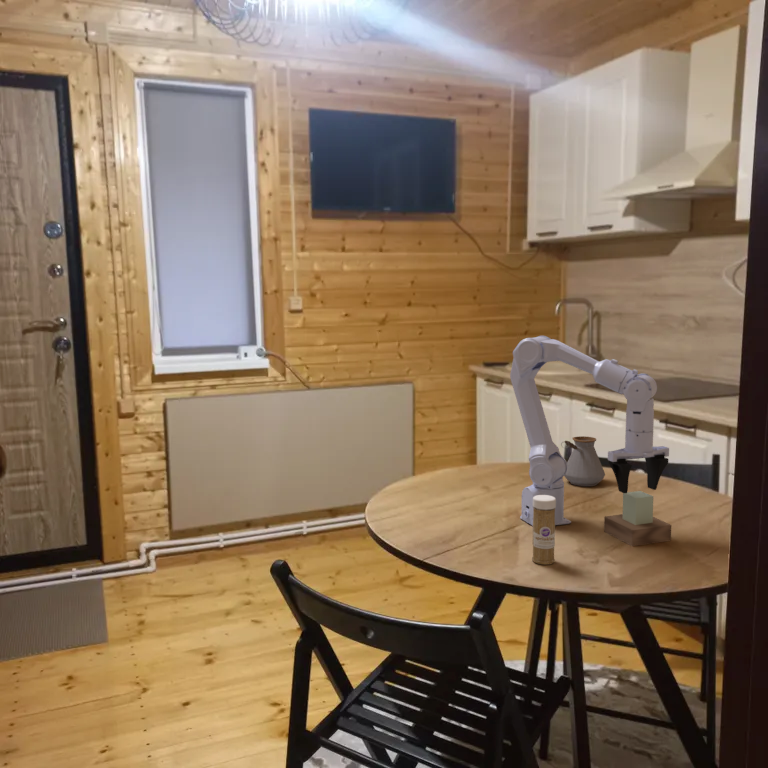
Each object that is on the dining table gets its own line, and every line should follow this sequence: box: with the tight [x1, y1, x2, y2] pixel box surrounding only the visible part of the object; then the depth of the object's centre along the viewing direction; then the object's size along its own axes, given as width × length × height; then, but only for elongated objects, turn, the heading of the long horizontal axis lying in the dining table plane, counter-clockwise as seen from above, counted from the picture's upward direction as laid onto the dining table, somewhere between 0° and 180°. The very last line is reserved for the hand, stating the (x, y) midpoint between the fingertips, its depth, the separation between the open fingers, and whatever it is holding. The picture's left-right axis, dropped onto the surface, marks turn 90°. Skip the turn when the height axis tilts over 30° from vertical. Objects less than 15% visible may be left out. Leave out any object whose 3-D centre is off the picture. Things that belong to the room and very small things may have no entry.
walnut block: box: [603, 513, 672, 547], centre depth 158 cm, size 10×10×4 cm
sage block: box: [622, 490, 654, 525], centre depth 157 cm, size 4×4×6 cm
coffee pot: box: [560, 436, 606, 487], centre depth 197 cm, size 21×12×15 cm, turn 145°
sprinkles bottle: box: [531, 495, 556, 566], centre depth 143 cm, size 5×5×13 cm
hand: (637, 490), depth 157 cm, fingers open, 7 cm apart
